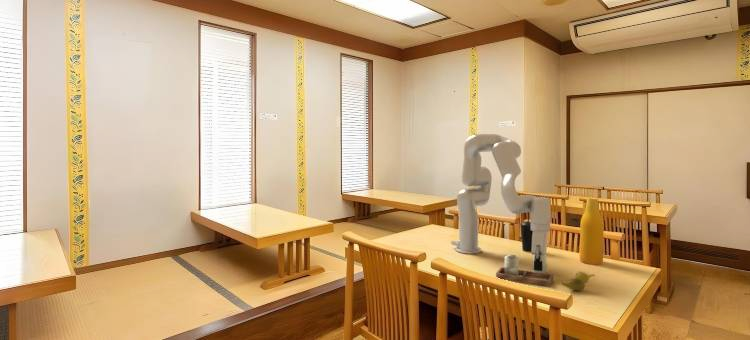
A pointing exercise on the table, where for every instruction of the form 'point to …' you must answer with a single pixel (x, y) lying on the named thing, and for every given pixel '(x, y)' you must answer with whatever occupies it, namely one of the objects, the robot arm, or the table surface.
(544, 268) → the celadon canister
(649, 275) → the table surface
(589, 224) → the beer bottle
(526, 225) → the drinking cup
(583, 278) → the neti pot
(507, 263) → the walnut tray
